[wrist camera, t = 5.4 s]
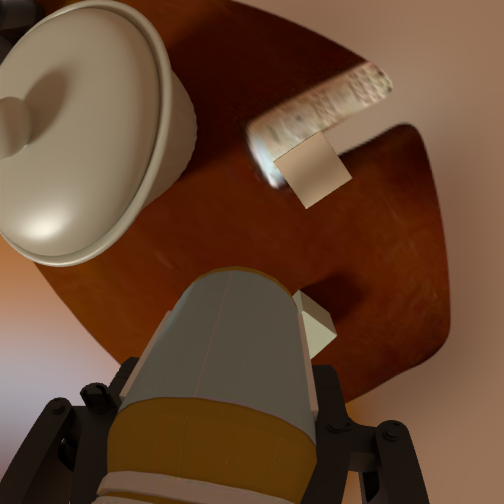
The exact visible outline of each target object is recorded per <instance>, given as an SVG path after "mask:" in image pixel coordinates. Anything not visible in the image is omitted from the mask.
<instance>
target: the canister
mask: <svg viewBox="0 0 504 504" xmlns="http://www.w3.org/2000/svg"><path fill="white" fill-rule="evenodd" d="M197 128H198V127H197V124H196V114H195V112H194V106H193V104H192V102H191V100H190V97H189V95H188V93H187V91H186V90H185V88H184V86H183V85H182V83H181V82H180V80H179V79H178V77H177V76H176V74H175V73H174V72H173V70H172V69H171V65H170V61H169V57H168V54H167V51H166V48H165V45H164V43H163V41H162V39H161V37H160V35H159V33H158V32H157V30H156V29H155V27H154V26H153V25H152V24H151V22H150V21H149V20H148V19H147V18H146V17H145V16H143V15H142V14H141V13H140V12H138V11H137V10H135V9H134V8H132V7H130V6H128V5H126V4H123V3H120V2H117V1H112V0H87V1H82V2H78V3H75V4H71V5H69V6H66V7H64V8H61V9H59V10H57V11H55V12H54V13H52V14H50V15H49V16H47V17H45V18H44V19H42V20H41V21H40V22H38V23H37V24H36V25H35V26H33V27H32V28H31V29H30V30H29V31H28V32H27V33H26V34H25V35H24V36H23V37H22V38H21V39H20V40H19V41H18V42H17V43H16V45H15V46H14V47H13V48H12V50H11V51H10V52H9V54H8V55H7V56H6V58H5V59H4V61H3V62H2V64H1V65H0V234H1V235H2V236H3V238H4V239H5V240H6V241H7V242H8V243H9V244H10V245H11V246H12V247H13V248H14V249H15V250H16V251H18V252H19V253H20V254H22V255H23V256H25V257H26V258H28V259H30V260H32V261H35V262H37V263H40V264H43V265H48V266H55V267H65V266H72V265H76V264H80V263H83V262H85V261H88V260H90V259H92V258H94V257H96V256H97V255H99V254H101V253H102V252H104V251H105V250H106V249H108V248H109V247H110V246H112V245H113V244H114V243H115V242H116V241H117V240H118V239H119V238H120V237H121V236H122V235H123V234H124V233H125V232H126V231H127V229H128V228H129V227H130V226H131V224H132V223H133V222H134V220H135V219H136V217H137V216H138V214H139V213H140V211H141V210H142V209H143V208H144V207H146V206H147V205H148V204H149V203H151V202H152V201H153V200H155V199H156V198H157V197H159V196H160V195H161V194H162V193H164V192H165V191H166V190H167V189H168V188H170V187H171V186H172V184H173V183H174V182H175V181H176V180H177V179H178V178H179V177H180V175H181V173H182V172H183V171H184V170H185V169H186V166H187V164H188V162H189V161H190V160H191V155H192V153H193V151H194V149H195V142H196V139H197V136H196V132H197Z"/></svg>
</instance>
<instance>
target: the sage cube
mask: <svg viewBox="0 0 504 504" xmlns="http://www.w3.org/2000/svg"><path fill="white" fill-rule="evenodd" d="M292 298H293V299H294V301H295V303H296V305H297V308H298V313H302V315H303V321H304V326H305V332H306V337H307V343H308V349H309V354H310V359H312V358H313V357H314V356H315V355H316V354H317V353H318V352H319V351H321V350H322V349H323V348H324V347H325V346H326V345H327V344H328V343H330V342H331V341H332V340H333V339H334V338H335V337H336V336H337V334H336V331H335V328H334V325H333V322H332V319H331V316H330V313H329V312H328V311H326V310H325V309H324V308H322V307H321V306H320V305H319V304H317V303H316V302H315V301H313V300H312V299H311V298H309V297H308V296H307V295H306V294H304V293H303V292H302V291H300V290H298V291H297V292H296V293H295V294H294V295H293V296H292Z"/></svg>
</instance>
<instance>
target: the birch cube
mask: <svg viewBox="0 0 504 504" xmlns="http://www.w3.org/2000/svg"><path fill="white" fill-rule="evenodd" d="M273 162H274V164H275V165H276V166H277V168H278V169H279V171H280V172H281V173H282V175H283V176H284V178H285V179H286V180H287V182H288V183H289V185H290V186H291V187H292V189H293V190H294V192H295V193H296V195H297V196H298V198H299V199H300V200H301V202H302V203H303V205H304V206H305V208H306V209H307V208H308V207H310V206H311V205H313V204H314V203H316V202H317V201H319V200H320V199H322V198H323V197H325V196H326V195H328V194H329V193H331V192H332V191H334V190H335V189H337V188H338V187H340V186H341V185H343V184H344V183H346V182H347V181H349V180H350V179H352V177H351V176H350V174H349V173H348V171H347V169H346V168H345V166H344V165H343V163H342V162H341V160H340V159H339V157H338V156H337V154H336V153H335V151H334V150H333V148H332V147H331V145H330V144H329V142H328V141H327V140H326V138H325V136H324V135H323V134H322V132H321V131H319V132H317V133H316V134H314V135H312V136H311V137H309V138H308V139H306V140H305V141H303V142H302V143H300V144H299V145H297V146H296V147H294V148H293V149H291V150H290V151H288V152H287V153H285V154H284V155H282V156H281V157H279V158H278V159H276V160H275V161H273Z"/></svg>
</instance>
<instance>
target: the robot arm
mask: <svg viewBox="0 0 504 504" xmlns="http://www.w3.org/2000/svg"><path fill="white" fill-rule="evenodd" d="M42 19H44V8H43V6H42V5H41V4H40V3H38V2H35V1H33V0H0V65H1V64H2V62H3V61H4V59H5V58H6V56H7V55H8V54H9V52H10V51H11V50H12V48H13V47H14V46H15V45H16V43H17V42H18V41H19V40H20V39H21V38H22V37H23V36H24V35H25V34H26V33H27V32H28V31H29V30H30V29H31V28H32V27H33V26H35V25H36V24H37V23H38V22H40V21H41V20H42ZM172 312H173V311H168V312H167V313H166V315H165V317H164V318H163V320H162V322H161V323H160V325H159V327H158V328H157V330H156V332H155V333H154V335H153V337H152V339H151V340H150V342H149V344H148V345H147V347H146V349H145V351H144V352H143V354H142V356H141V357H140V358H136V357H130V358H129V359H127V360H126V361H125V362H123V364H122V365H121V367H120V369H119V371H118V372H117V374H116V375H115V377H114V378H113V380H112V382H111V383H110V386H109V387H107V386H106V385H104V384H103V383H91V384H89V385H86V386H85V387H84V388H83V389H82V390H81V392H80V395H81V397H82V399H83V401H84V403H85V405H86V406H72V405H71V403H70V402H69V400H67V399H66V398H61V397H59V398H54V399H53V400H51V401H50V402H49V403H48V404H47V405H46V406H45V408H44V410H43V411H42V413H41V414H40V416H39V417H38V419H37V420H36V422H35V424H34V425H33V427H32V428H31V430H30V432H29V433H28V435H27V437H26V438H25V440H24V441H23V443H22V445H21V446H20V448H19V450H18V451H17V453H16V455H15V456H14V458H13V460H12V462H11V464H10V465H9V467H8V469H7V471H6V473H5V475H4V476H3V478H2V480H1V482H0V504H69V502H70V504H92V502H94V501H95V500H96V498H98V497H101V496H99V495H97V491H98V488H99V486H100V484H101V481H102V479H103V478H104V477H105V476H106V475H107V440H108V435H109V430H110V428H111V426H112V424H113V422H114V420H115V416H116V414H117V412H118V410H119V408H120V406H121V405H122V403H123V401H124V399H125V397H126V395H127V393H128V391H129V389H130V388H131V386H132V384H133V382H134V380H135V378H136V376H137V375H138V373H139V371H140V369H141V367H142V365H143V364H144V362H145V360H146V358H147V356H148V354H149V353H150V351H151V349H152V347H153V345H154V344H155V342H156V340H157V338H158V337H159V335H160V333H161V331H162V329H163V328H164V326H165V324H166V322H167V321H168V319H169V317H170V315H171V314H172ZM297 315H298V321H299V328H300V334H301V341H302V348H303V355H304V362H305V369H306V377H307V384H308V392H309V400H310V408H311V412H312V413H313V416H314V419H315V427H316V437H315V438H316V445H315V447H316V456H317V463H316V466H315V468H314V471H313V473H312V476H311V478H310V481H309V483H308V486H307V488H306V490H305V493H304V495H303V497H302V499H301V502H300V504H341V503H342V498H343V494H344V489H345V484H346V479H347V474H348V471H356V472H358V474H359V481H360V488H361V496H362V504H430V503H429V499H428V495H427V491H426V487H425V484H424V480H423V476H422V473H421V469H420V466H419V463H418V459H417V456H416V453H415V449H414V446H413V443H412V440H411V437H410V434H409V431H408V429H407V427H406V426H405V425H404V424H403V423H401V422H399V421H395V420H388V421H385V422H382V423H381V424H379V425H378V427H371V426H364V425H359V424H357V423H355V422H354V421H352V420H351V418H349V417H348V414H347V411H346V407H345V403H344V399H343V395H342V391H341V389H340V383H339V380H338V376H337V372H336V371H335V370H334V368H333V367H332V366H331V365H311V360H310V354H309V349H308V343H307V337H306V332H305V326H304V321H303V315H302V313H297ZM63 439H64V440H63ZM62 440H63V441H62ZM61 442H62V443H61Z"/></svg>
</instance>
